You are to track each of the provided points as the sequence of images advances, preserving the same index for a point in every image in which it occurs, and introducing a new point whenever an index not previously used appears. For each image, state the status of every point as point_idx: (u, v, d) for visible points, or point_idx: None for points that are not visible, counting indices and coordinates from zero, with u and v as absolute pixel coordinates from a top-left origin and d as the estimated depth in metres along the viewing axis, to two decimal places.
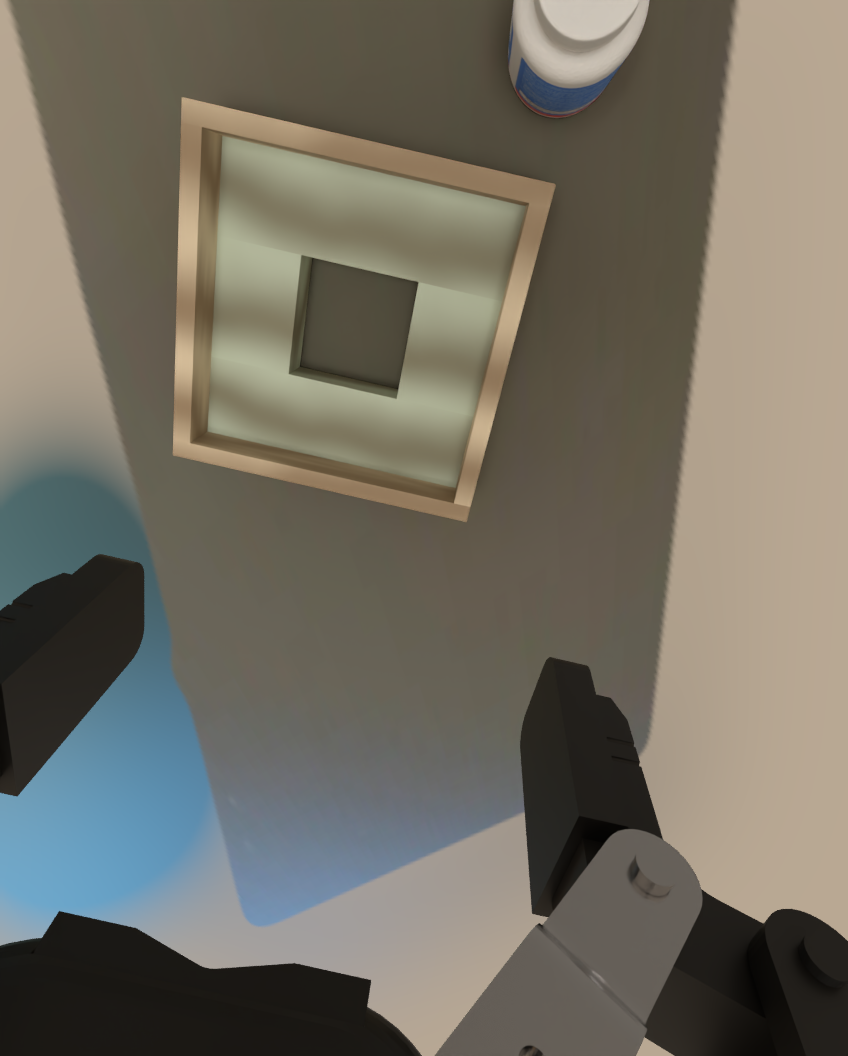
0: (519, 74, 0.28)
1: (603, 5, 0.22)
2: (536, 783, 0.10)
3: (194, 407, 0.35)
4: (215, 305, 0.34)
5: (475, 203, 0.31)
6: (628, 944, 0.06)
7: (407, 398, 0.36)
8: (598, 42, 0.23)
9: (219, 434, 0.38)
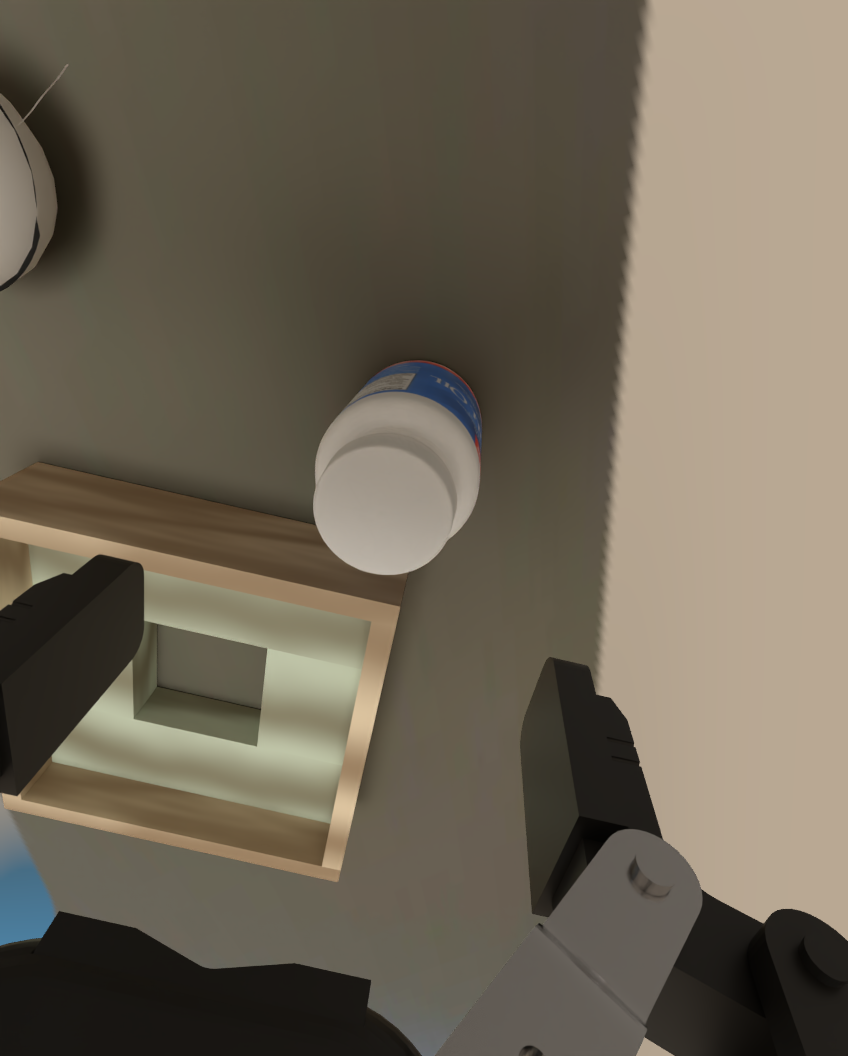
0: None
1: (399, 545, 0.17)
2: (536, 783, 0.10)
3: None
4: None
5: None
6: (627, 945, 0.06)
7: (269, 746, 0.31)
8: None
9: (66, 764, 0.33)
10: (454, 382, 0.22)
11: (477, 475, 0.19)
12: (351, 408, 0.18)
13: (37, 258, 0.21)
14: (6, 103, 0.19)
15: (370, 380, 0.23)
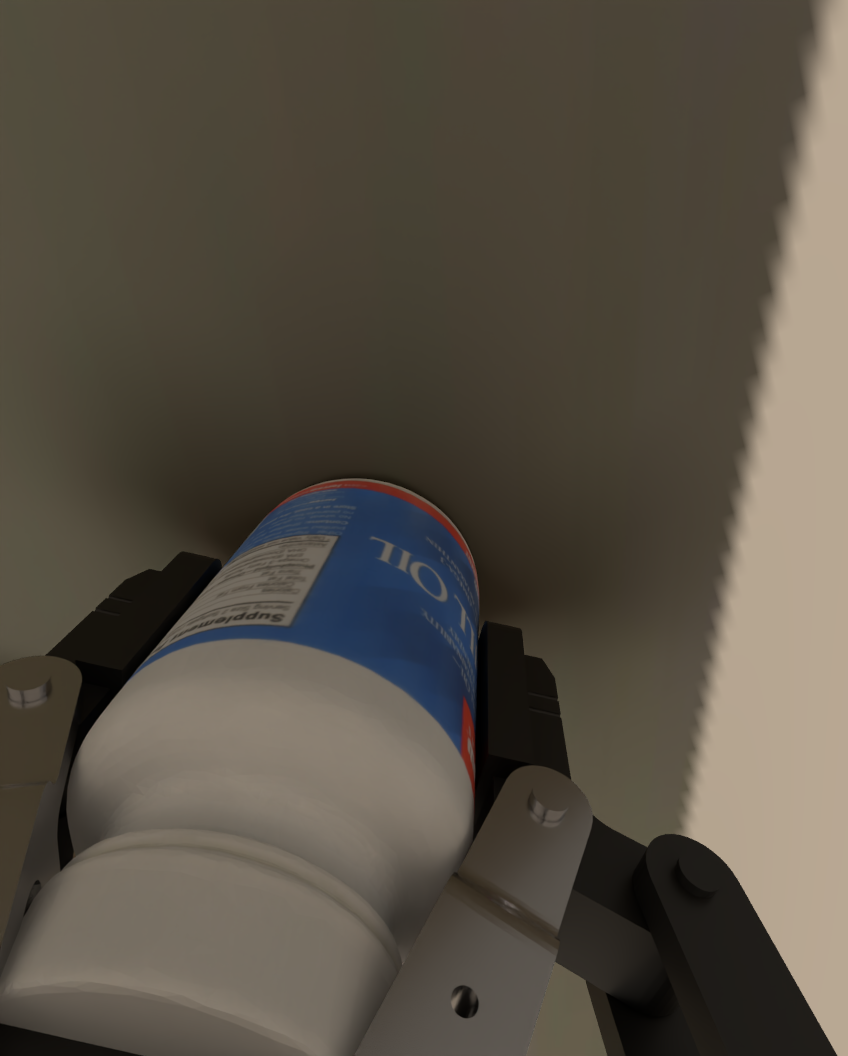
0: None
1: None
2: None
3: None
4: None
5: None
6: (534, 871, 0.07)
7: None
8: None
9: None
10: (423, 539, 0.11)
11: (466, 850, 0.07)
12: (137, 695, 0.07)
13: None
14: None
15: (259, 528, 0.12)
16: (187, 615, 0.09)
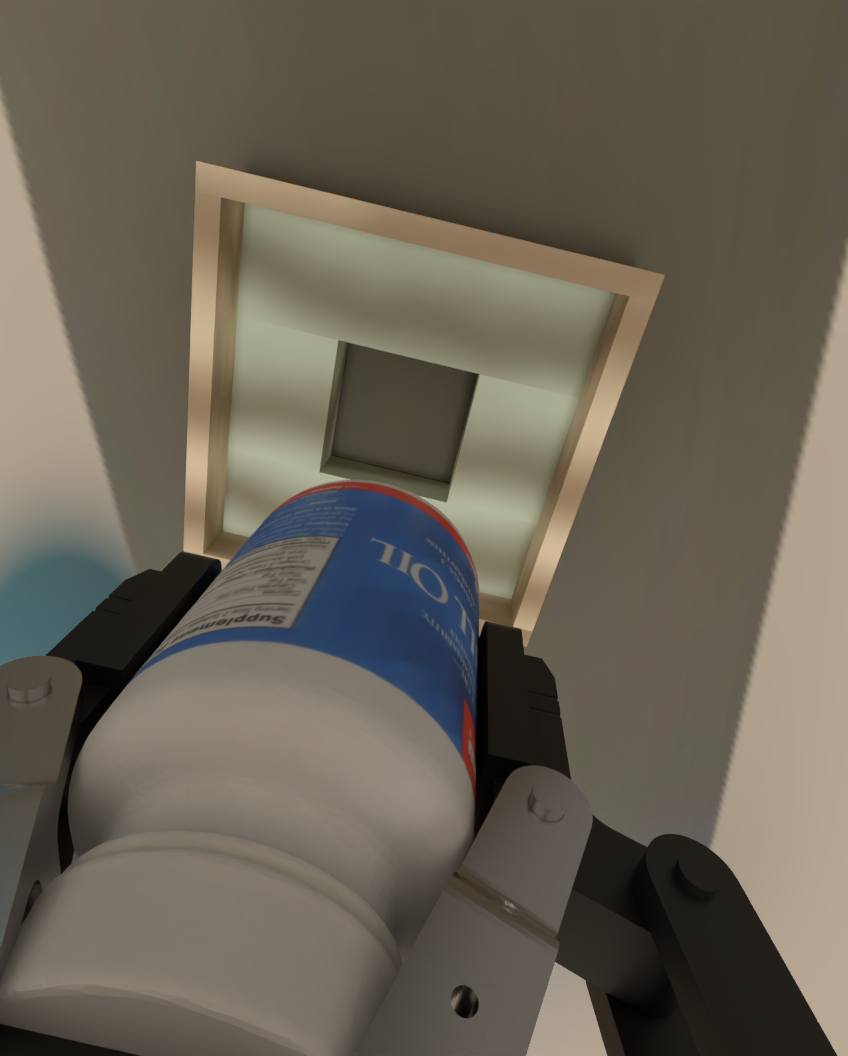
0: None
1: None
2: None
3: (208, 513, 0.29)
4: (233, 394, 0.29)
5: (555, 286, 0.25)
6: (534, 871, 0.07)
7: (459, 502, 0.30)
8: None
9: (236, 534, 0.32)
10: (424, 541, 0.11)
11: (467, 852, 0.07)
12: (138, 697, 0.07)
13: None
14: None
15: (260, 529, 0.12)
16: (188, 617, 0.09)
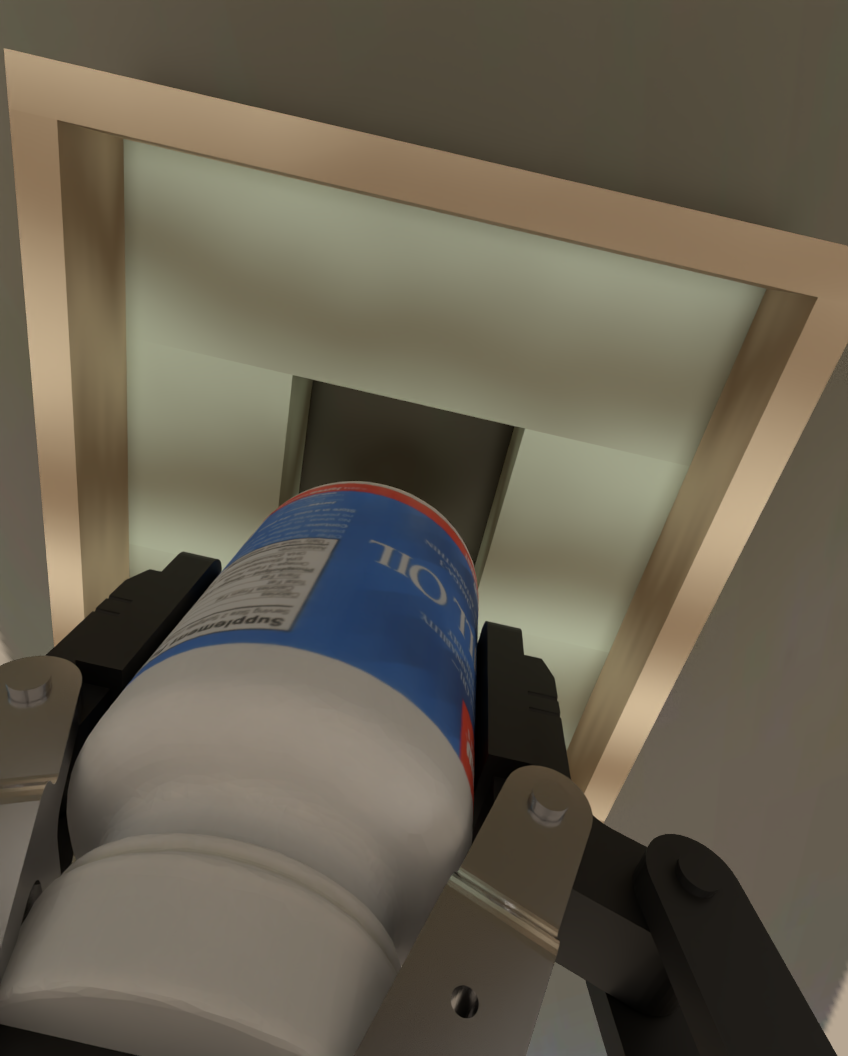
0: None
1: None
2: None
3: None
4: (130, 460, 0.18)
5: (658, 282, 0.15)
6: (534, 871, 0.07)
7: (489, 620, 0.19)
8: None
9: None
10: (422, 542, 0.11)
11: (465, 854, 0.07)
12: (137, 699, 0.07)
13: None
14: None
15: (259, 530, 0.12)
16: (187, 619, 0.09)
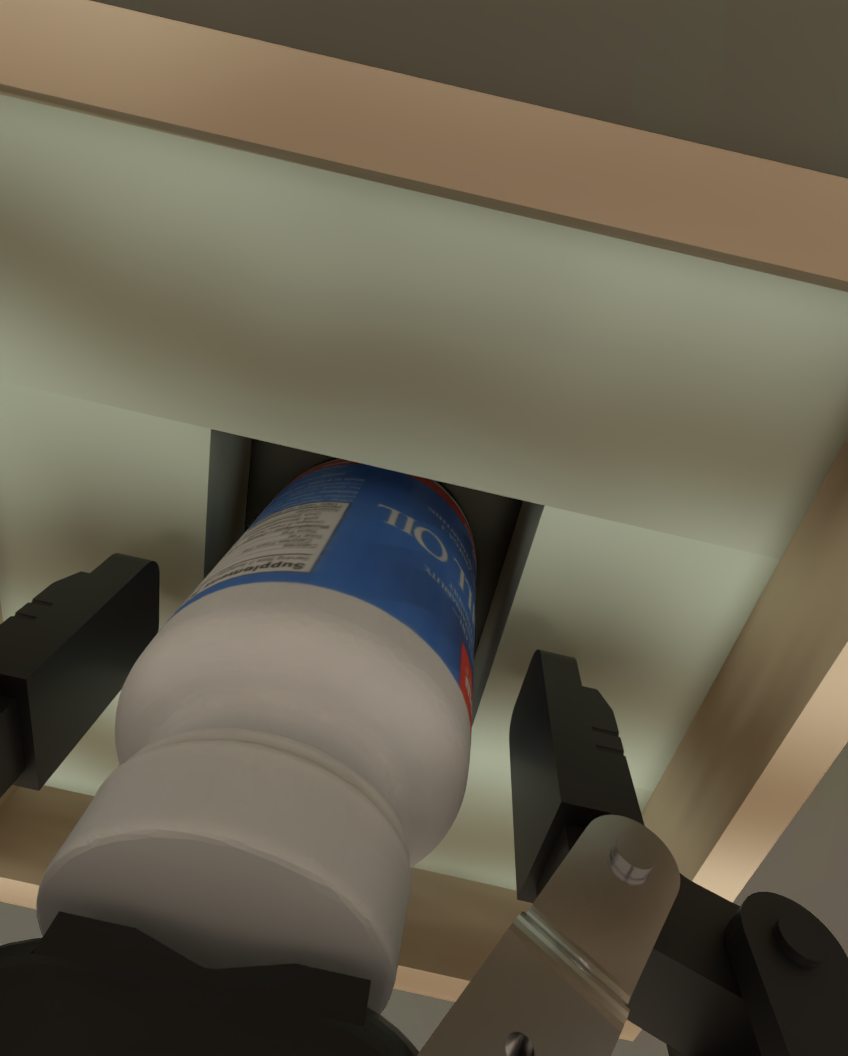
0: None
1: None
2: (523, 773, 0.10)
3: None
4: None
5: (751, 298, 0.10)
6: (609, 929, 0.07)
7: (492, 749, 0.14)
8: None
9: (51, 786, 0.16)
10: (426, 509, 0.12)
11: (464, 766, 0.09)
12: (179, 627, 0.08)
13: None
14: None
15: (276, 499, 0.13)
16: (216, 569, 0.10)
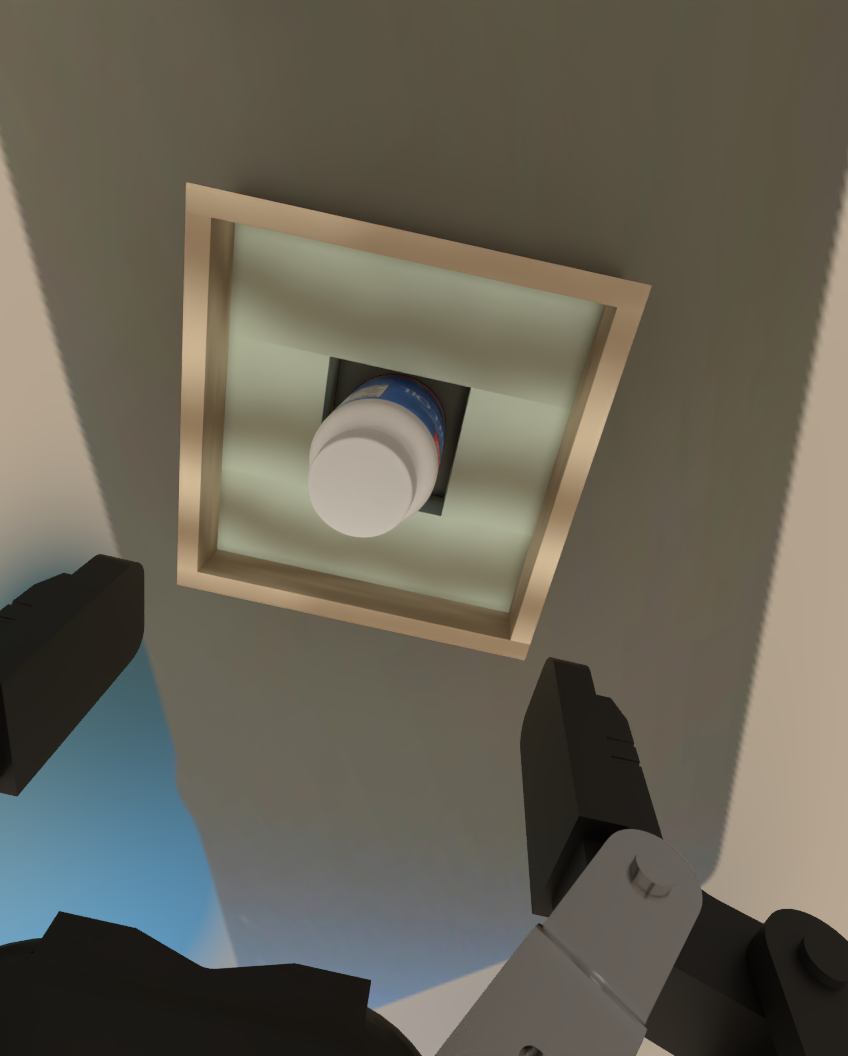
0: None
1: (373, 514, 0.22)
2: (536, 783, 0.10)
3: (201, 531, 0.29)
4: (226, 412, 0.29)
5: (543, 299, 0.26)
6: (627, 945, 0.06)
7: (454, 515, 0.30)
8: None
9: (231, 552, 0.32)
10: (421, 392, 0.28)
11: (434, 462, 0.24)
12: (336, 411, 0.24)
13: None
14: None
15: (354, 391, 0.29)
16: (339, 405, 0.26)
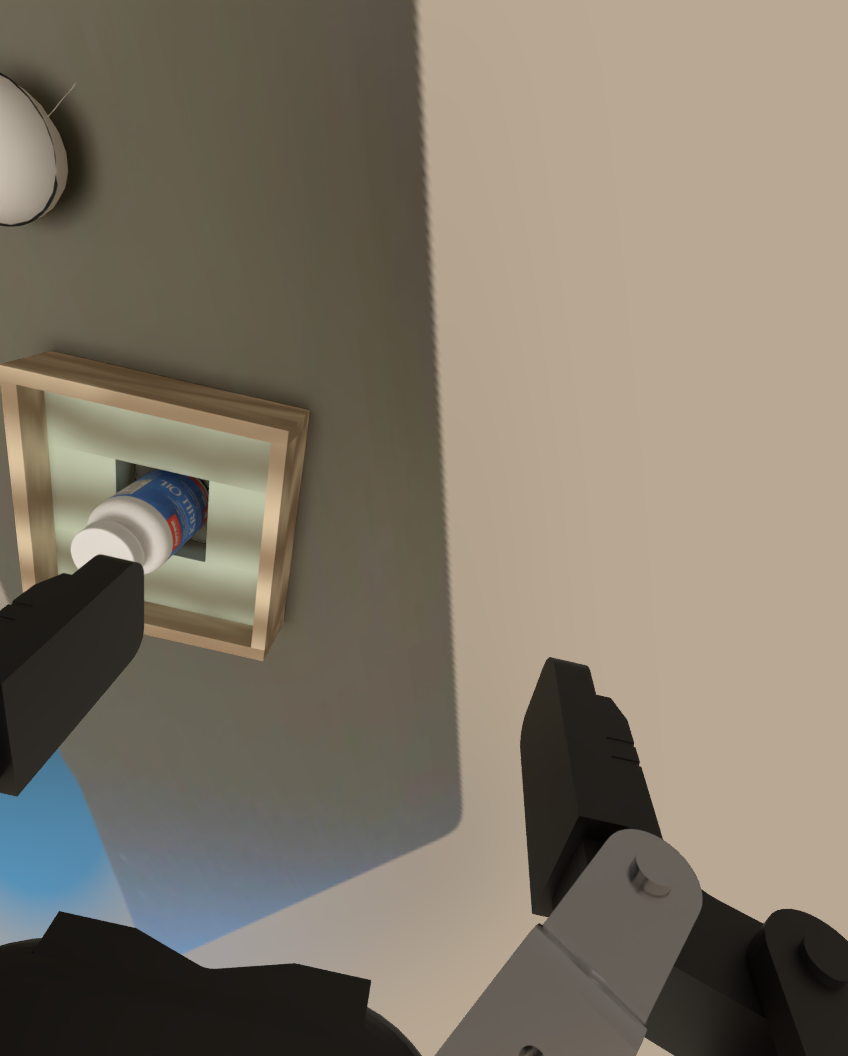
0: None
1: None
2: (536, 783, 0.10)
3: (38, 572, 0.43)
4: (53, 492, 0.43)
5: None
6: (627, 945, 0.06)
7: (213, 562, 0.44)
8: None
9: None
10: (179, 482, 0.42)
11: (164, 536, 0.38)
12: None
13: (55, 201, 0.34)
14: (38, 105, 0.32)
15: (138, 479, 0.42)
16: None
